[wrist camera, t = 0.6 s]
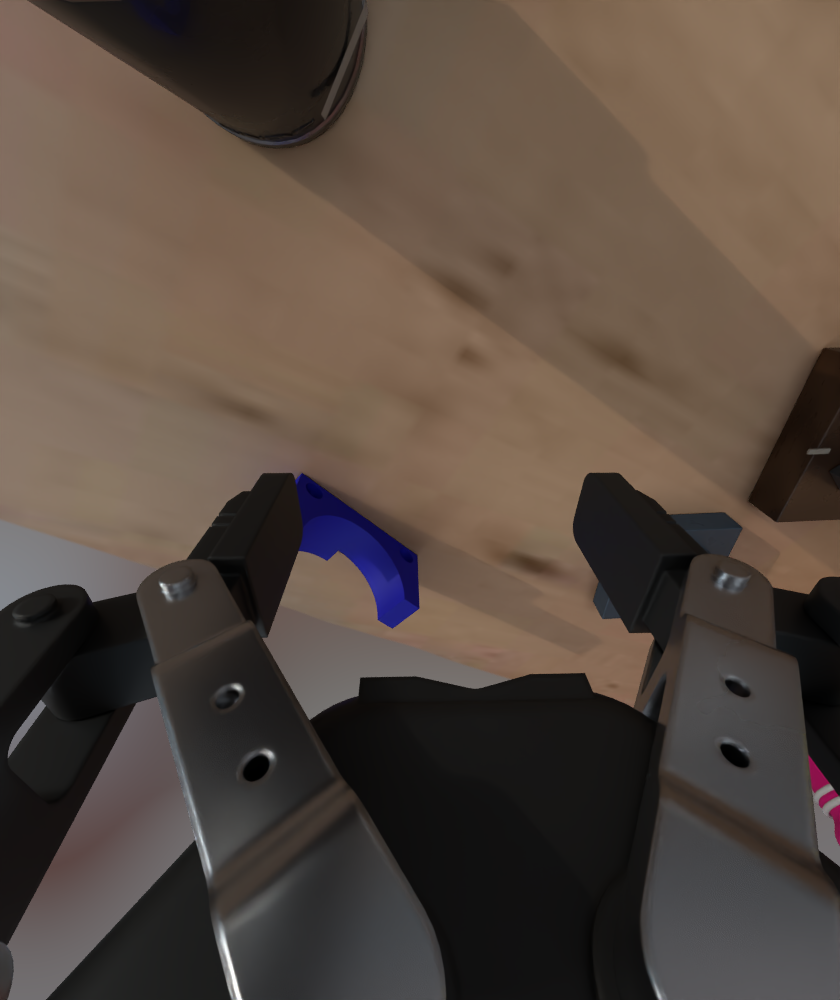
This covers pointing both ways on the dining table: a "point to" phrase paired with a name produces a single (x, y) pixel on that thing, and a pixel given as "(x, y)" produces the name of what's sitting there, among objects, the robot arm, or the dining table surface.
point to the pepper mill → (825, 796)
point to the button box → (705, 529)
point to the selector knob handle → (836, 475)
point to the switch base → (806, 452)
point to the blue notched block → (360, 550)
